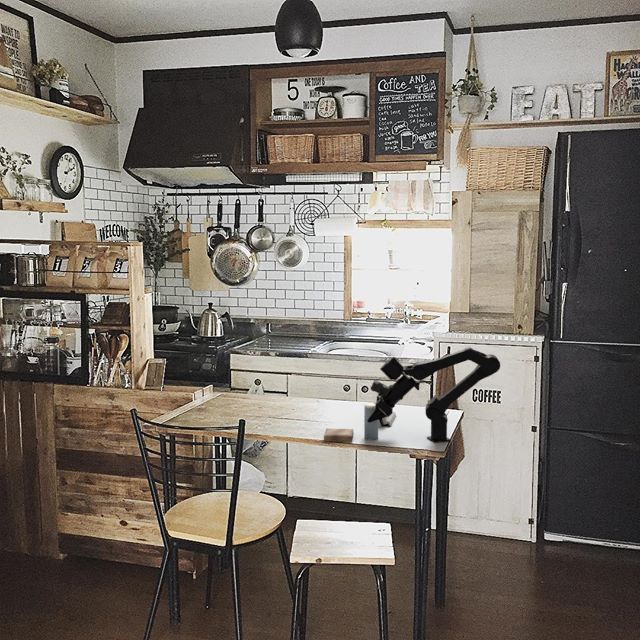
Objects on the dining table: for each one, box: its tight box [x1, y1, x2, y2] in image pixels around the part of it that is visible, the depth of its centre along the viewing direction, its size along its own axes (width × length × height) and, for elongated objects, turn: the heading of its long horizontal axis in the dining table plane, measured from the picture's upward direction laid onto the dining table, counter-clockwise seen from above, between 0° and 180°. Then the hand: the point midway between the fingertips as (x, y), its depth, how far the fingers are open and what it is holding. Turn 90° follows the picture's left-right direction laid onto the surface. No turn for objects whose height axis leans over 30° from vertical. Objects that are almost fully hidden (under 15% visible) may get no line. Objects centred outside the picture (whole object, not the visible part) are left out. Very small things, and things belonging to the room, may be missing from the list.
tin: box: [363, 403, 379, 441], centre depth 279 cm, size 5×5×12 cm
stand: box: [323, 428, 354, 443], centre depth 280 cm, size 10×10×2 cm
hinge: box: [373, 399, 397, 427], centre depth 304 cm, size 17×5×10 cm, turn 167°
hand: (368, 418), depth 279 cm, fingers open, 9 cm apart
